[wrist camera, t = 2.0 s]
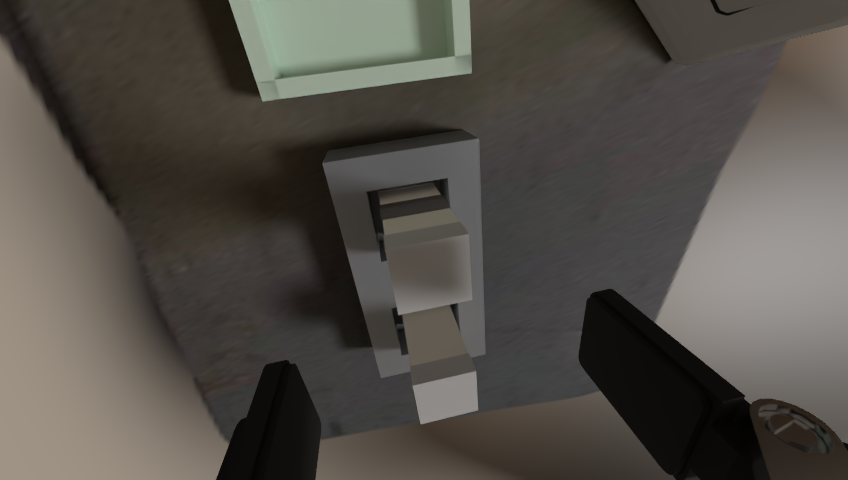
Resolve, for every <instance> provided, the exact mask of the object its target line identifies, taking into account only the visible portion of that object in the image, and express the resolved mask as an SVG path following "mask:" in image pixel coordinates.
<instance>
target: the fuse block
mask: <svg viewBox="0 0 848 480" xmlns="http://www.w3.org/2000/svg"><path fill="white" fill-rule="evenodd" d="M322 164H323V168H324V172H325V175H326V179H327V183H328V186H329V190H330V194H331V197H332V201H333V204H334V208H335V212H336V215H337V219H338V223H339V226H340V230H341V234H342V237H343V241H344V245H345V248H346V252H347V255H348V259H349V263H350V266H351V270H352V274H353V277H354V281H355V285H356V288H357V292H358V296H359V299H360V303H361V307H362V310H363V314H364V317H365V321H366V325H367V328H368V332H369V336H370V339H371V343H372V347H373V350H374V354H375V358H376V361H377V365H378V368H379V372H380V376H381V378H383V377H388V376H392V375H396V374H401V373H405V372H410V366H411V365H410V359H409V353H408V347H407V341H406V335H405V329H404V323H403V318H402V315H398V311H397V306H396V301H395V296H394V291H393V286H392V281H391V276H390V271H389V266H388V261H387V257H386V252H385V245H384V237H383V236H384V231H383V226H382V221H381V214H380V207H379V205H380V202H379V197H378V191H377V190H379V189H385V188H391V187H397V186H403V185H409V184H415V183H421V182H427V181H434V185H435V187H436V188H437V190H438V191H439V193H440V194H442V195H443V196H444V198H445V199H446V201H447V202H448V204H449V205H450V207H451V211H452V212H453V214H454V215H455V217H456V218H457V220H458V221H459V222H461V223H462V225H463V226H464V228H465V229H466V230H467V232H468V233H469V246H470V266H471V285H472V300H469V301H464V302H459V303H455V304H450V307H451V310H452V313H453V315H454V318H455V320H456V323H457V326H458V328H459V331H460V334H461V336H462V339H463V341H464V344H465V347H466V349H467V352H468V353H469V354H470V357H476V356H480V355H485V323H484V289H483V255H482V221H481V187H480V153H479V138H477V137H475V136H473V135H472V134H470V133H468V132H466V131H464V130H458V131H451V132H445V133H438V134H432V135H425V136H419V137H412V138H406V139H399V140H393V141H386V142H380V143H373V144H367V145H360V146H354V147H347V148H341V149H334V150H328V152H327V154H326V156H325V158H324V160H323V162H322Z"/></svg>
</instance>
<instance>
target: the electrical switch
mask: <svg viewBox="0 0 848 480" xmlns="http://www.w3.org/2000/svg"><path fill="white" fill-rule="evenodd" d="M635 2H636V4H637V5H638V7H639V8H640V10H641V11H642V13H643V15H644V16H645V18H646V19H647V21H648V22H649V24H650V26H651V27H652V29H653V30H654V32H655V33H656V35H657V36H658V38H659V40H660V41H661V43H662V44H663V46H664V47H665V49H666V51H667V52H668V54H669V55H670V57H671V58H672V60H673V61H674V62H675V63H677V64H682V65H687V66H688V65H692V64H696V63H700V62H704V61H707V60H711V59H715V58H719V57H723V56H727V55H731V54H735V53H739V52H743V51H747V50H750V49H754V48H758V47H762V46H766V45H770V44H774V43H778V42H782V41H786V40H790V39H794V38H798V37H801V36H805V35H809V34H813V33H817V32H821V31H825V30H829V29H832V28H837V27H841V26H845V25H848V0H635Z"/></svg>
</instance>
